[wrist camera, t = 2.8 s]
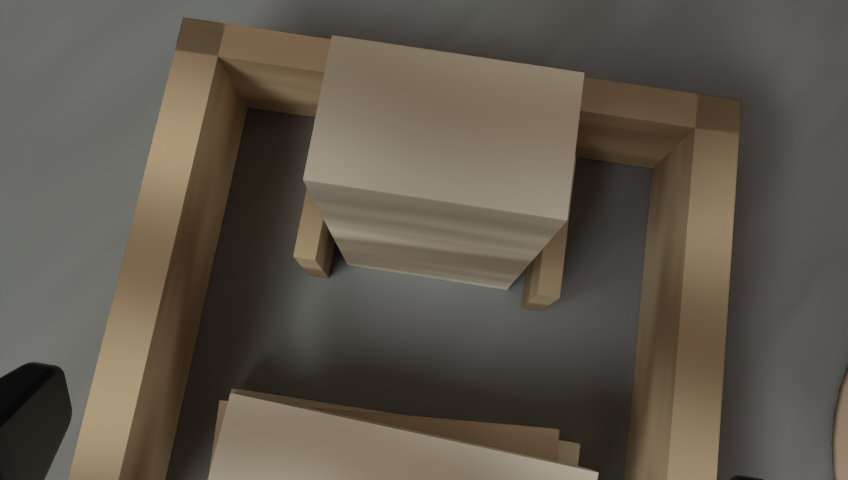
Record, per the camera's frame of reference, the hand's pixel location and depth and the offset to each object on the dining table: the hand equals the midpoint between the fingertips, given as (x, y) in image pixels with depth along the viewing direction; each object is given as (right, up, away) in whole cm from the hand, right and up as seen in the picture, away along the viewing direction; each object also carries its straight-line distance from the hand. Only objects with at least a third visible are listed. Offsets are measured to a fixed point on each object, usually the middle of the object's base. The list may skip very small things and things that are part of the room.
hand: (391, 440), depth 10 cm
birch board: (+1, +3, +13) cm, 13 cm away
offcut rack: (0, 0, +12) cm, 12 cm away
